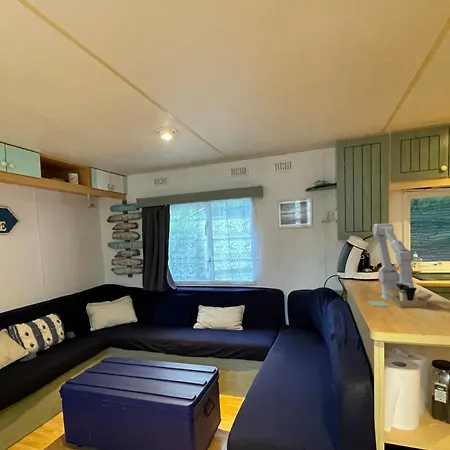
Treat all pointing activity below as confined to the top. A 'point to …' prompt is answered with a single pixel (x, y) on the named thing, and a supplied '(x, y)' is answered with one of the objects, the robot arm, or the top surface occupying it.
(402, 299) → the block
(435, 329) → the top surface
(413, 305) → the carton
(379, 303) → the pad
